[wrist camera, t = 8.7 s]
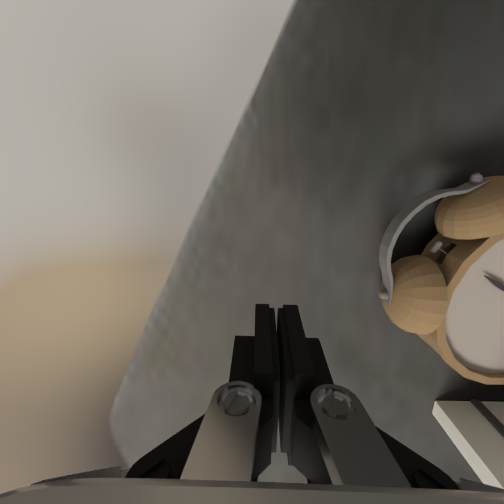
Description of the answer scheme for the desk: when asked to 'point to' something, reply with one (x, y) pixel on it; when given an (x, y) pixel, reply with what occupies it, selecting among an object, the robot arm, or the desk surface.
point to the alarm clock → (453, 278)
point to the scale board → (476, 435)
